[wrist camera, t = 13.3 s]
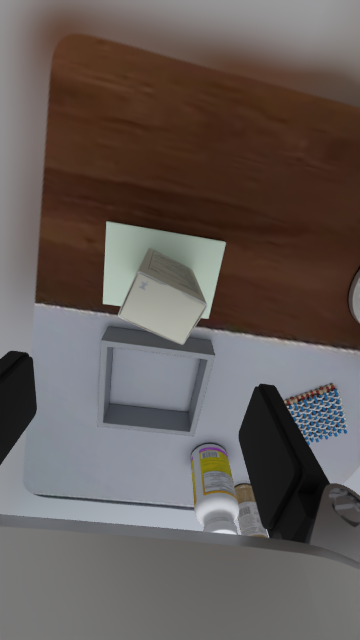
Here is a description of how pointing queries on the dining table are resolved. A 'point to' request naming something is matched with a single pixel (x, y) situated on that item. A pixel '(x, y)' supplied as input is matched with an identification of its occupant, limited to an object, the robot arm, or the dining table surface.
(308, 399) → the woven mat
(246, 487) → the sprinkles bottle
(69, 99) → the dining table surface
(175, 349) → the bin
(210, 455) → the supplement bottle
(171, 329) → the skincare box
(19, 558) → the robot arm
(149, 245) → the pad
